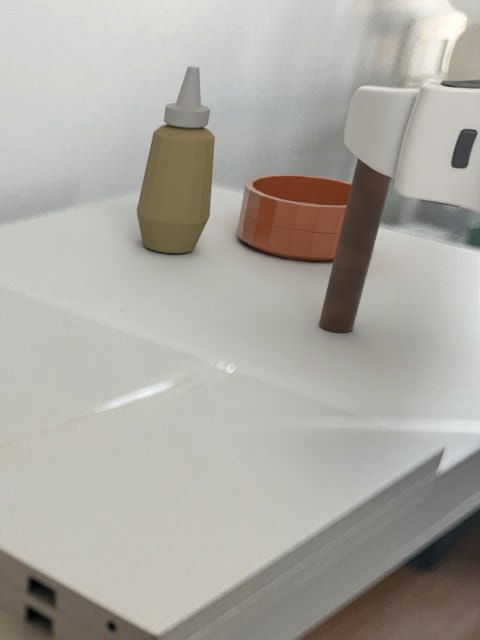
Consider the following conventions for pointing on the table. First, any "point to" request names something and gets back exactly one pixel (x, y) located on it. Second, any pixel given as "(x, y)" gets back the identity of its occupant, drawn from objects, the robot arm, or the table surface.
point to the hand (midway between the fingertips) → (458, 107)
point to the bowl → (293, 215)
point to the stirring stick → (354, 248)
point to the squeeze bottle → (178, 174)
